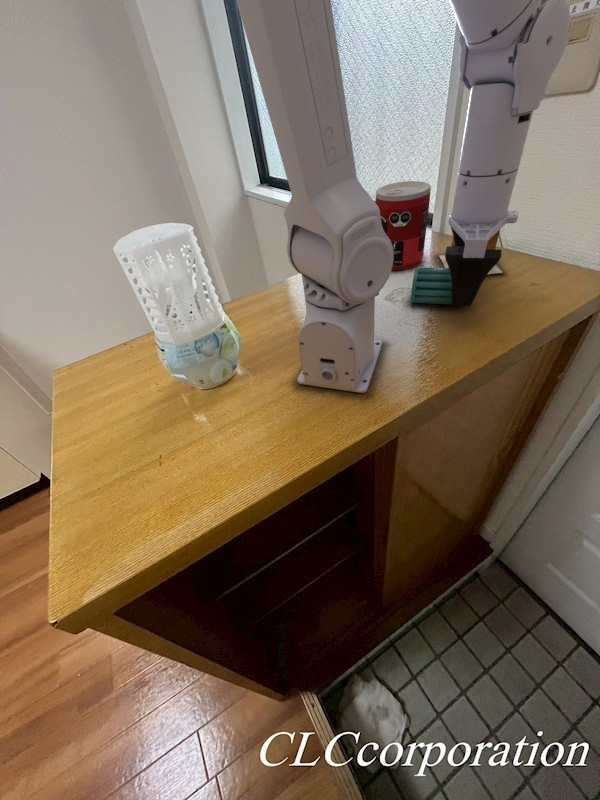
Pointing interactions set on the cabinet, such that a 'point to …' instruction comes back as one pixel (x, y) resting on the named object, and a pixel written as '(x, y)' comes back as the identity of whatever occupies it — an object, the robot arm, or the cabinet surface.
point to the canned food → (405, 220)
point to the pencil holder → (432, 286)
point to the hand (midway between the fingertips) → (462, 289)
